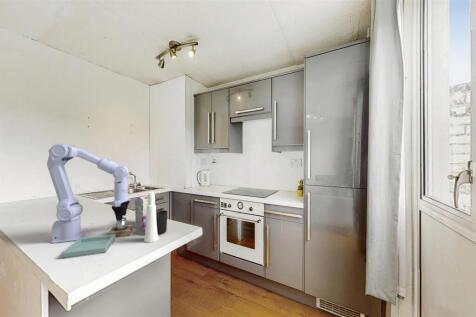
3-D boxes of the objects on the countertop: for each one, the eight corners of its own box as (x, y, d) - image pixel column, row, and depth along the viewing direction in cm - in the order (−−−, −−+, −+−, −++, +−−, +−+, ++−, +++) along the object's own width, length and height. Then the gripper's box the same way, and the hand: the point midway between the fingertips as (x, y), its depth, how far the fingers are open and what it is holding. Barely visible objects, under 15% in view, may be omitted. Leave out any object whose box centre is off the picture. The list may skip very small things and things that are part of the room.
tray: (61, 258, 71) (61, 253, 71) (79, 242, 84) (79, 238, 84) (105, 252, 76) (105, 247, 76) (115, 238, 89) (115, 234, 89)
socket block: (107, 238, 89) (107, 233, 89) (113, 231, 98) (113, 226, 98) (129, 235, 92) (129, 230, 92) (133, 229, 100) (133, 224, 100)
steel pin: (115, 235, 92) (115, 220, 92) (117, 232, 96) (117, 217, 96) (124, 234, 94) (124, 219, 94) (126, 231, 97) (126, 217, 97)
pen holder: (160, 236, 91) (160, 215, 91) (143, 235, 93) (143, 214, 93) (170, 229, 100) (170, 210, 100) (155, 228, 102) (155, 209, 102)
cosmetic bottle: (143, 243, 83) (143, 193, 83) (144, 238, 89) (144, 191, 89) (158, 241, 86) (158, 192, 86) (158, 236, 91) (158, 190, 91)
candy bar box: (148, 221, 113) (148, 194, 112) (156, 222, 112) (155, 194, 111) (134, 228, 102) (134, 197, 102) (142, 229, 101) (142, 198, 101)
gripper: (126, 192, 89) (127, 221, 89) (133, 187, 103) (133, 212, 103) (109, 193, 87) (109, 223, 87) (118, 188, 101) (118, 214, 101)
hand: (121, 217), depth 95 cm, fingers open, 7 cm apart
